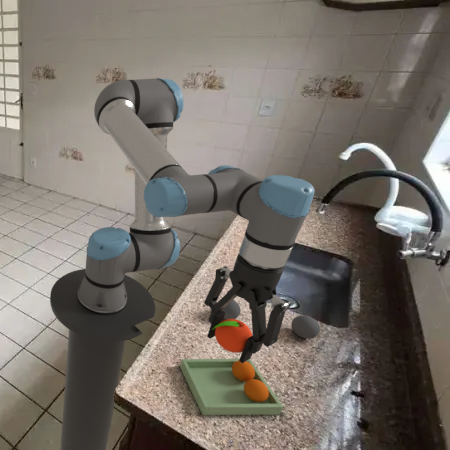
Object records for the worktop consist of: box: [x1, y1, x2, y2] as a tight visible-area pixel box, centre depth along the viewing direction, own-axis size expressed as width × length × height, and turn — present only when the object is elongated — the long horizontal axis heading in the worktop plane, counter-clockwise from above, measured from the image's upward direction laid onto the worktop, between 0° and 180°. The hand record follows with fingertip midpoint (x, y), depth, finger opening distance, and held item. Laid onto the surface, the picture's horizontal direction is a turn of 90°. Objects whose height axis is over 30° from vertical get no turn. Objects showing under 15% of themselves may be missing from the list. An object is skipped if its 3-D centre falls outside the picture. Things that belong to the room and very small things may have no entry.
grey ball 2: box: [290, 315, 321, 340], centre depth 93 cm, size 6×6×6 cm
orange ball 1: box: [232, 360, 255, 381], centre depth 82 cm, size 5×5×5 cm
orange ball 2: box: [244, 379, 269, 402], centre depth 77 cm, size 5×5×5 cm
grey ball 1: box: [221, 299, 242, 320], centre depth 100 cm, size 6×6×6 cm
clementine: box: [212, 318, 253, 354], centre depth 74 cm, size 8×7×7 cm
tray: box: [179, 358, 284, 416], centre depth 80 cm, size 17×13×3 cm
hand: (228, 347), depth 76 cm, fingers closed on clementine, 7 cm apart
